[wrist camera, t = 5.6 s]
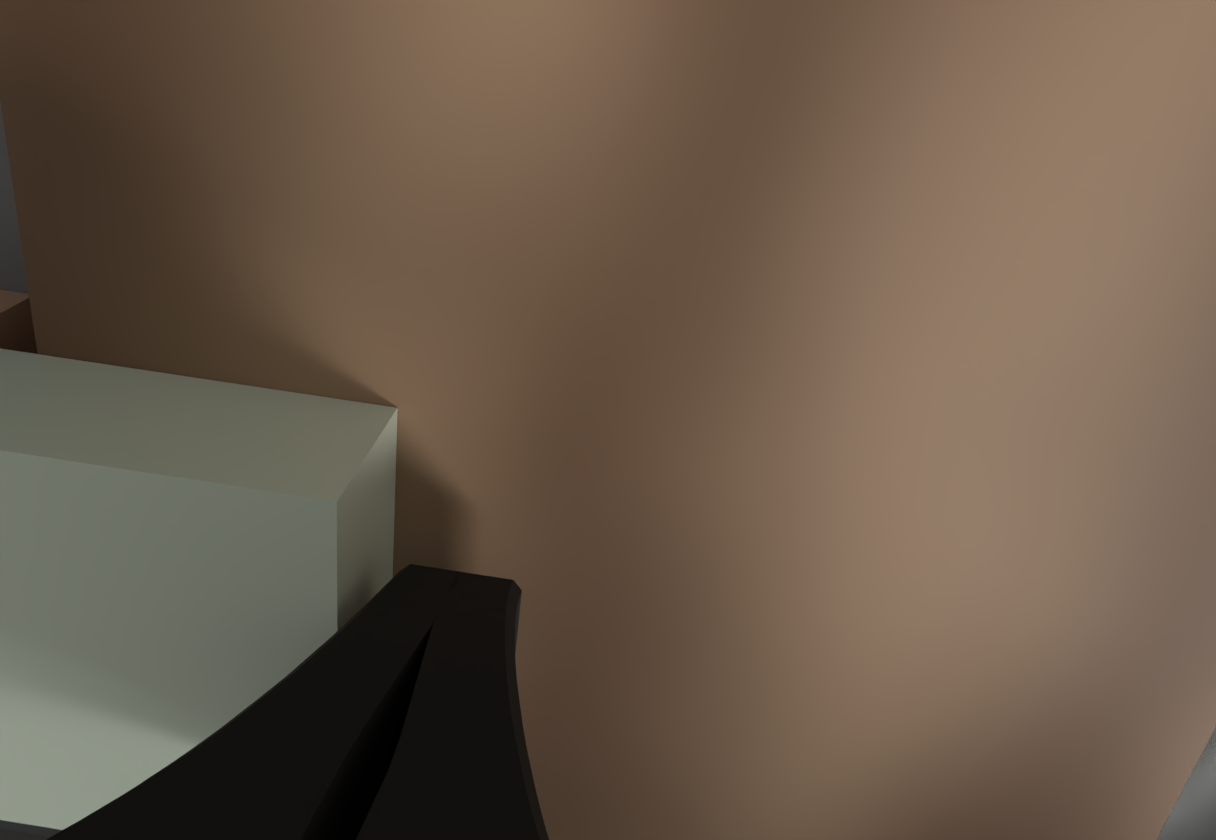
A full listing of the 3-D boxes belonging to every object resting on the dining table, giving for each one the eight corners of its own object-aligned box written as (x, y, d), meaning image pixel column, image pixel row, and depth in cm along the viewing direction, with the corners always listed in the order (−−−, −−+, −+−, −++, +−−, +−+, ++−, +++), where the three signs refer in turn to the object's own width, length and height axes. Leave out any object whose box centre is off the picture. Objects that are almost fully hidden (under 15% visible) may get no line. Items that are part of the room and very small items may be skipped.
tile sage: (397, 407, 11) (337, 502, 9) (387, 745, 13) (337, 873, 11) (-47, 341, 11) (-193, 421, 9) (18, 687, 13) (-90, 805, 11)
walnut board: (1444, -27, 10) (1607, -17, 8) (982, 985, 17) (1015, 1108, 15) (81, -209, 10) (-51, -240, 9) (186, 856, 17) (127, 962, 16)
